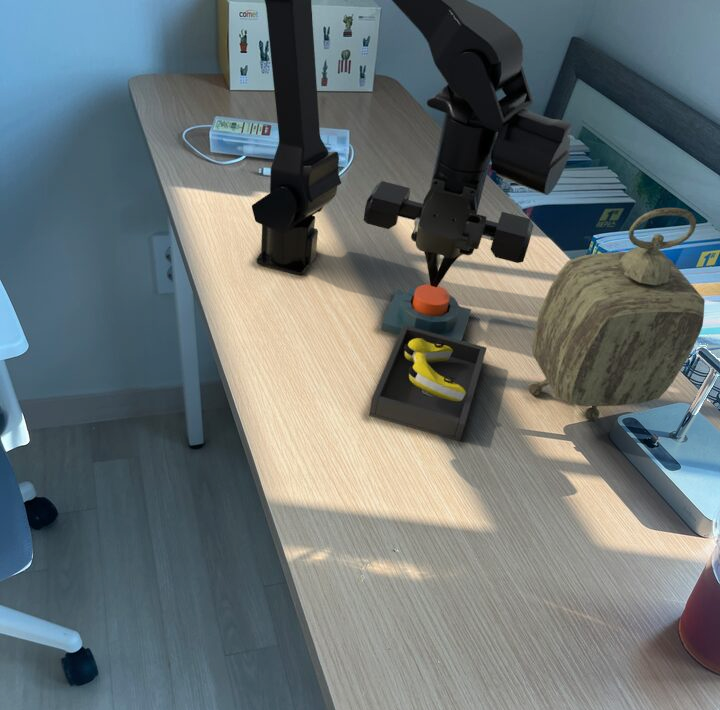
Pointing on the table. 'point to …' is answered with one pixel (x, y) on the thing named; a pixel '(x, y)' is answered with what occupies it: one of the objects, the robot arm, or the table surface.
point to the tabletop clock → (618, 324)
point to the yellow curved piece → (431, 370)
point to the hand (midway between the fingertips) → (434, 285)
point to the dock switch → (425, 317)
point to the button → (431, 300)
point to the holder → (407, 401)
